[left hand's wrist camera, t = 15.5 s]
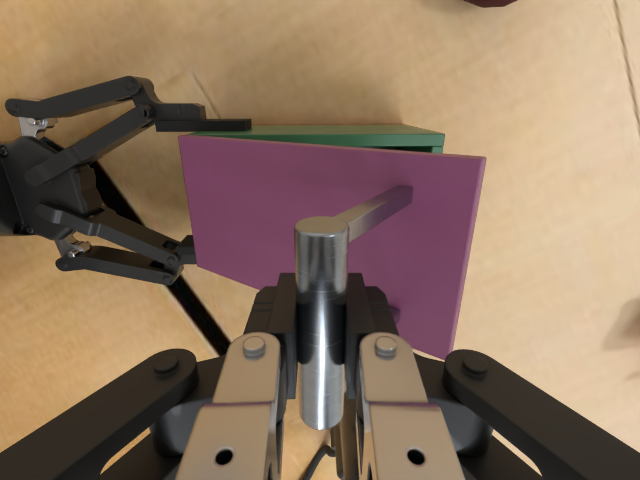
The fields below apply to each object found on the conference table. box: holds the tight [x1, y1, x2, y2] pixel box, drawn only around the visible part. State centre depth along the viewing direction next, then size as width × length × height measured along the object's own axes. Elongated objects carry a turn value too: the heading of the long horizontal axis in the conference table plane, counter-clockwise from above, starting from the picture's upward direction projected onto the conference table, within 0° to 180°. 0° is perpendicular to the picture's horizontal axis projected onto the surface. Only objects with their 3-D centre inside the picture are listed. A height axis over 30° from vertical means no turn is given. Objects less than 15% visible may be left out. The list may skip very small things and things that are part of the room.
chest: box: [187, 124, 445, 154], centre depth 29 cm, size 17×9×11 cm, turn 90°
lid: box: [178, 135, 486, 430], centre depth 16 cm, size 18×9×8 cm
